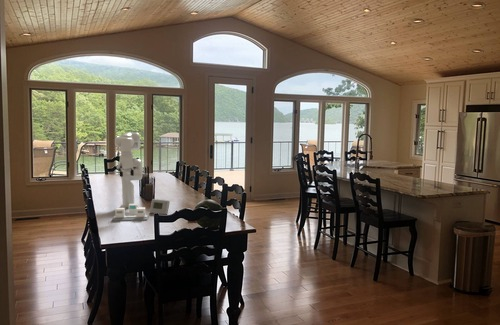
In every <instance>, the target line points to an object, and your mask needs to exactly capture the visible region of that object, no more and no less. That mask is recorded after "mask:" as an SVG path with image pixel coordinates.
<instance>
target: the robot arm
mask: <svg viewBox="0 0 500 325" xmlns="http://www.w3.org/2000/svg"><path fill="white" fill-rule="evenodd" d="M114 145H115V146H116V147H117V148H119V149H120V155H119V163H118V164H117V165H116V166H115V167H116V169H117V171H118V172H119V177H120V179H121V188H122V189H121V192H122V195H121V197H122V199H121V200H122V204H120V208H125V209H129V204H135V185H134V183H133V182H132V181H141V180H142V179H143V162H142V160H141V159H139V158H134V154H133V152H132V151H133V150H134V151H135V150H136V151H138V150H139V149H141V136H140V133H138V132H129V131H128V132H124V133H123V134H122V135H117V136H116V137H115V138H114Z"/></svg>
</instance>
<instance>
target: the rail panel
mask: <svg viewBox="0 0 500 325" xmlns="http://www.w3.org/2000/svg"><path fill="white" fill-rule="evenodd" d="M114 213H115V215H114V216H113V218H112V219H111V222H136V221H137V222H140V221H141V222H142V221H143V222H144V221H148V219H149V216H150V214H146V207H144V206H143V207H142V206H140V207H138V208H137V209H136V215H129V214H127V215H126V208H123V207H116V208H115V211H114Z"/></svg>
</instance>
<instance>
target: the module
mask: <svg viewBox="0 0 500 325" xmlns="http://www.w3.org/2000/svg"><path fill="white" fill-rule="evenodd" d="M138 206H139V205H138V203H134V204H129V208H128V215H136V209H137V208H139V207H138Z"/></svg>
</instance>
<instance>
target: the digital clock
mask: <svg viewBox="0 0 500 325" xmlns="http://www.w3.org/2000/svg"><path fill="white" fill-rule="evenodd" d="M150 203H151V204H150V208H149V213H151V214H155V213H159V214H158V215H168V212H169V207H170V200H166V199H159V198H157V199H155V198H152V199H151V202H150Z"/></svg>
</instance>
